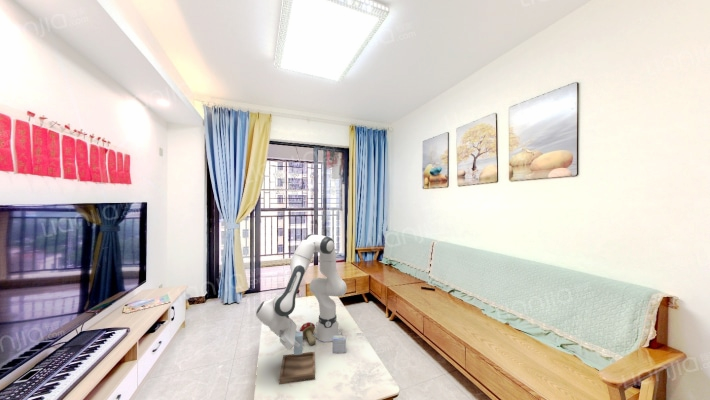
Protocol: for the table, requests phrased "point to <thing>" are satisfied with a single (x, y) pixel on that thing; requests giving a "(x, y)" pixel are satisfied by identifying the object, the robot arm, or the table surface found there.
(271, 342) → the table surface
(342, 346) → the medicine box
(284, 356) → the walnut tray
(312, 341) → the decorative mushroom
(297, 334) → the slate block
